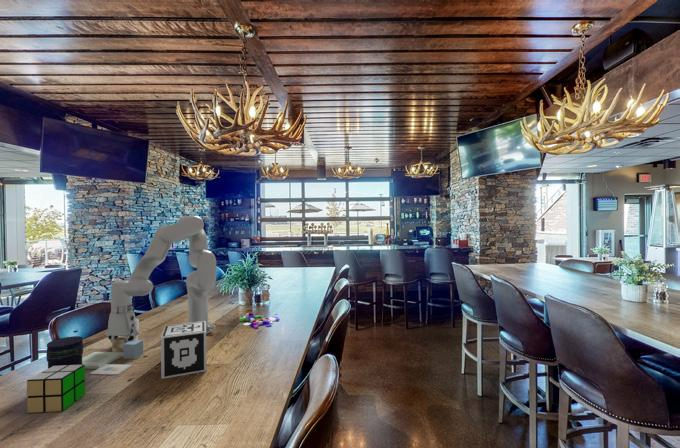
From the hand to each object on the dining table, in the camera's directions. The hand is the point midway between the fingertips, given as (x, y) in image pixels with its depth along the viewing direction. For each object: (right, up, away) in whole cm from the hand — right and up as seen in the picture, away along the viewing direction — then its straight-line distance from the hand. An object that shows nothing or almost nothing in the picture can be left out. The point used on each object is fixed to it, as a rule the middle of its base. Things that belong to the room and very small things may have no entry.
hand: (122, 350), depth 141 cm
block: (+35, -1, -15) cm, 38 cm away
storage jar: (-1, -1, -28) cm, 28 cm away
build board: (-4, -1, -10) cm, 10 cm away
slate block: (+8, -1, -5) cm, 9 cm away
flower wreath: (+50, -1, +43) cm, 66 cm away
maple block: (0, -1, 0) cm, 1 cm away
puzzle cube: (+7, -1, -41) cm, 41 cm away
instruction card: (+8, -1, -18) cm, 19 cm away
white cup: (-4, -1, +11) cm, 12 cm away
